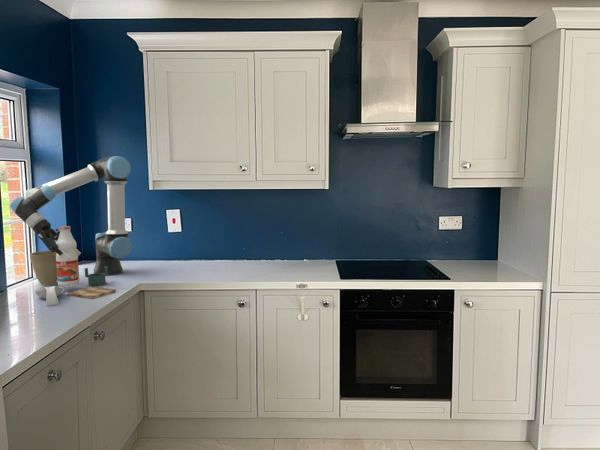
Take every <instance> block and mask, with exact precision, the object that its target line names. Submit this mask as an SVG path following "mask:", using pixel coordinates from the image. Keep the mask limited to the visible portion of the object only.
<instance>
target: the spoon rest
mask: <svg viewBox="0 0 600 450" xmlns="http://www.w3.org/2000/svg"><path fill="white" fill-rule="evenodd" d="M64 289H65V287H63V286H57V285H53V286H49V287H47V286H45V287H42V288H39V289H35V290H34V293H35V294H36V295H37V296H38V297H40V298H42V299H44V300H45V299H46V300H45V306H46V307H50V306H56V305H59V299H58V296H60V295H61V294H62V292H63V291H64Z"/></svg>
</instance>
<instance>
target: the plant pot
mask: <svg viewBox="0 0 600 450" xmlns="http://www.w3.org/2000/svg"><path fill="white" fill-rule="evenodd" d="M56 254H57V253H56V252H52V251H50V250H41V251H35V252H31V253H29V258H30V261H31V265H32V269H33V272H34V274H35V276H36V279H37V281H38V283H39V285H41V286H50V285H55V284H58V279H57V265H56Z"/></svg>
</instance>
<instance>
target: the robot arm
mask: <svg viewBox="0 0 600 450" xmlns="http://www.w3.org/2000/svg"><path fill="white" fill-rule="evenodd" d="M131 169H132V168H131V165H130V162H129V160H127V159H126V158H125V157H122V156H118V155H113V156H105V157H102V158H100V159H98V160H97V161H94V162H92V163H89V164H87V167H85V168H82V169H80V170H78V171H77V170H76V171H75V172H72V173H69V174H66V175H64V176H62V177H60V178H57V179H53V180H51V181H49V182H46V183H43V184H42V185H38V186H37V187H34V188H33V187H32V188H28V189H26V190H25V192H24V195H23V196H24V197H23V196H17V197H15V198H14V199H13V200H11V201H10V204H9V208H10V210H12V212H13V213H14V215H16V216H17V217H19V218H20V220H22V222H24V223H25V224H26V225H27V226H28V227H29V228H30V229H32V231H33V232H34V233H35V234H36V235H37V237H38V239H39V240H41V241H42V243H43V244H44V245H45V247H46V248H47V249H48V251H52V252H56V253H57V254H58V255H59V256H61V257H62V258H63V259H64V260H65V261H67V260H68V259H69V257H70V256H69V255H67V254H66V253H65V252H64V251H63V250H62V249H61V248H60V247H59V248H58V246H57V244H56V241H57V240H58V238H59V234H60V230H59V228H56V229H53V228H52V224H51V223H50V221H48V219H46V218H45V217H44V216H43V215H42V214H41V213H40V212H39V211H38V210H41V208H43V207H44V206H45V205H48V204H49V203H50V202H52V201H53V200H54V199H56V197H57V196H58V195H61V194H63V193H66V192H69V191H71V190H73V189H76V188H78V187H80V186H83V185H85V184H88V183H91V182H93V181H94V182H98V181H100V180H103V182H104V184H106V186H107V190H106V191H107V230H106V231H104V232H97V233H96V234H95V239H94V241H95V253H96V257H95V258H96V261H95V266H94V269H93V274H94V273H105V267H107V266H108V275H107V276H111V275H113V276H114V275H119V274H121V273H123V269H124V268H123V266H122V263H121V260H120V259H123V258H125V257H127V256H128V255H129V254H130V252H131V251H132V244H133V243H132V242H131V240H130V239H129V232H128V231H127V230H126V211H125V210H126V204H125V203H126V201H125V199H126V198H125V195H126V194H125V185H126V184H127V183H128V177H129V175H130V173H131ZM76 252H77V255H78V257H79V256H80V255H81V254H82V252H80V251H79V249H77V248H76Z"/></svg>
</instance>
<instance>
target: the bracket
mask: <svg viewBox="0 0 600 450" xmlns="http://www.w3.org/2000/svg"><path fill="white" fill-rule="evenodd" d="M107 276H109V275H108V266H107V267H105V273H94V272H93V273H90V274H89V268H88V267H85V268H84V277H85V278H87V282H88V283H87V285H88V287H95V286H96V287H102V286H105V285H106V283H107V282H106V277H107Z"/></svg>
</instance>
